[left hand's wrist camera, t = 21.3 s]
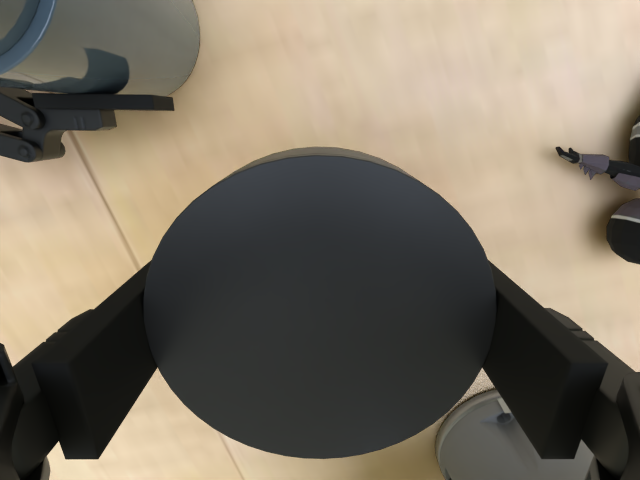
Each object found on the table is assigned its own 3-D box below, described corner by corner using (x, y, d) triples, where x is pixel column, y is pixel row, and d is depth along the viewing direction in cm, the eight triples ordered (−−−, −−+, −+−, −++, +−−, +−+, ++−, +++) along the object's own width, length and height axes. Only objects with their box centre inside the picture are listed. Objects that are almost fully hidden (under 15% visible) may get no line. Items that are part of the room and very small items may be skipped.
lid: (345, 440, 15) (350, 499, 12) (127, 320, 13) (84, 365, 10) (525, 264, 12) (573, 300, 10) (280, 73, 10) (269, 60, 8)
